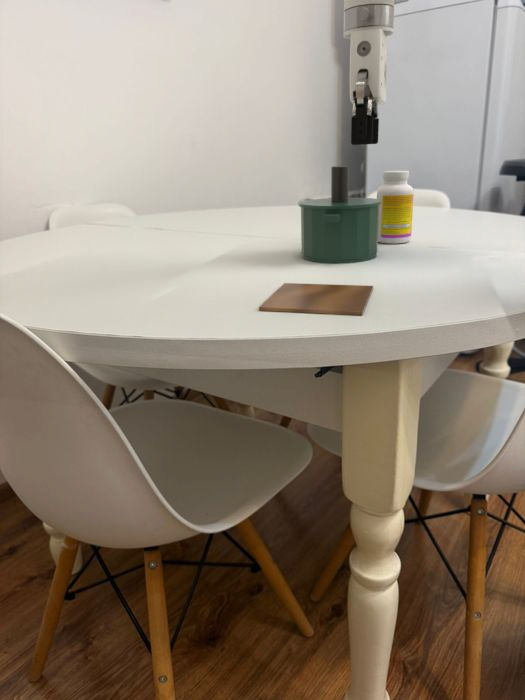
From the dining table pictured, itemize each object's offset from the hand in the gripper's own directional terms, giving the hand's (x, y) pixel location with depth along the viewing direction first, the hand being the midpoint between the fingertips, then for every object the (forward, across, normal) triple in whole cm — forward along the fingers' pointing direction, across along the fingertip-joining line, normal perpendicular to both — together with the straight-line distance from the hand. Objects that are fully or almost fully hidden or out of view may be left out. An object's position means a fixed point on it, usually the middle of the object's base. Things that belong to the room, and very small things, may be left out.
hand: (365, 144), depth 88 cm
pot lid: (+9, -4, +4) cm, 11 cm away
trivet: (+18, -32, +2) cm, 36 cm away
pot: (+18, -4, +4) cm, 18 cm away
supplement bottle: (+18, +11, -4) cm, 22 cm away
